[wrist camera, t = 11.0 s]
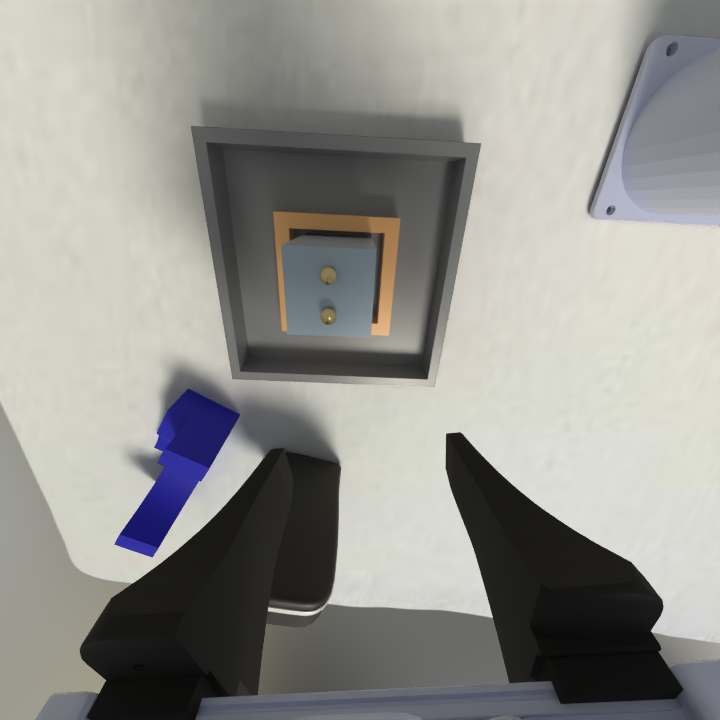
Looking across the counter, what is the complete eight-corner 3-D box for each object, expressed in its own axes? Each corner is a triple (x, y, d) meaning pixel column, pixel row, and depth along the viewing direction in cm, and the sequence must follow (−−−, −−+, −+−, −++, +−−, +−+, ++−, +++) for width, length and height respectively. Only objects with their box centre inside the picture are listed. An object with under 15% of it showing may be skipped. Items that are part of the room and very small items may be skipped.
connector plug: (371, 236, 18) (377, 251, 12) (367, 300, 20) (371, 341, 14) (305, 233, 18) (278, 246, 12) (308, 297, 20) (285, 338, 14)
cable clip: (189, 387, 24) (141, 438, 19) (241, 413, 25) (209, 468, 20) (143, 476, 29) (94, 537, 23) (189, 494, 30) (152, 557, 24)
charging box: (464, 151, 17) (481, 143, 15) (427, 369, 23) (434, 387, 21) (213, 136, 17) (191, 125, 14) (244, 362, 23) (232, 378, 21)
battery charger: (262, 475, 28) (207, 625, 18) (268, 445, 27) (212, 592, 17) (333, 490, 29) (320, 641, 19) (344, 462, 28) (336, 611, 17)
